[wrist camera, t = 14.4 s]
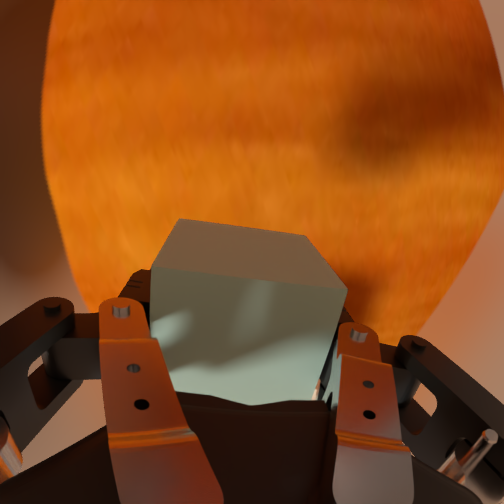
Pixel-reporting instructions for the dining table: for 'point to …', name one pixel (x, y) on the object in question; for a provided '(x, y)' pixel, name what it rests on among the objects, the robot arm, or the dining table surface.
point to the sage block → (243, 312)
